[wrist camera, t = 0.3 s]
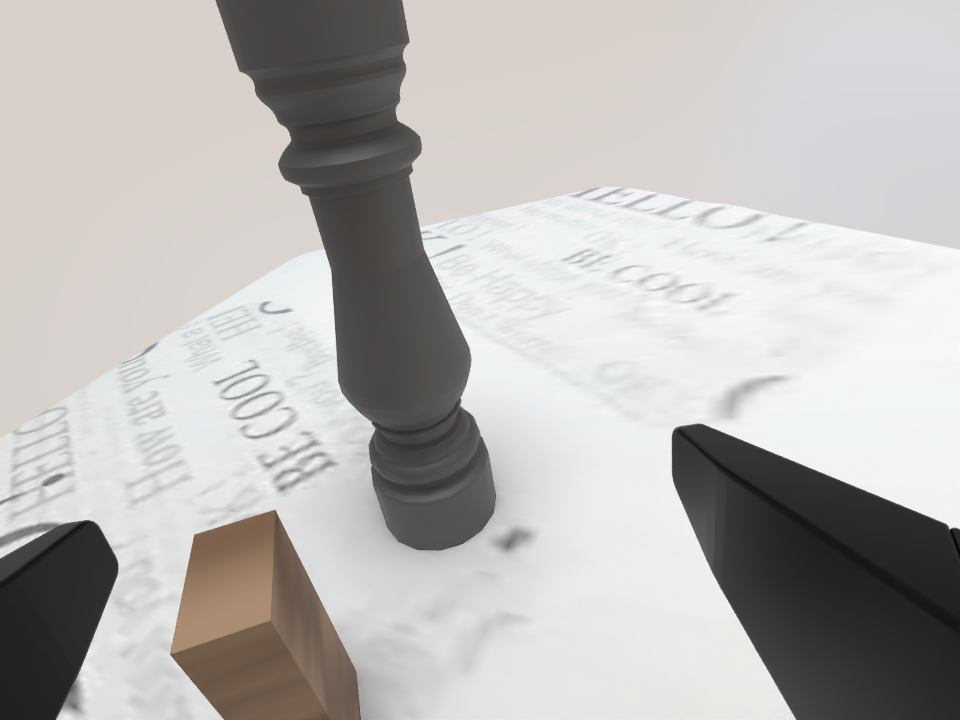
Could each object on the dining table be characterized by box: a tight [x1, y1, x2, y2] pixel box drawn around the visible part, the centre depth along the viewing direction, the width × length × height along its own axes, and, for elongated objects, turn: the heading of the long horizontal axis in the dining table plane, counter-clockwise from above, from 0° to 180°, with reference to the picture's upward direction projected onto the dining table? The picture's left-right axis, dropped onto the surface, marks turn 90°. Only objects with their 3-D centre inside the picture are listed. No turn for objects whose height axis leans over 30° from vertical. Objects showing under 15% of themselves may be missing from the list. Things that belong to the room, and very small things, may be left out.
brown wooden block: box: [170, 510, 361, 720], centre depth 19 cm, size 5×2×10 cm, turn 17°
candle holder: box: [216, 0, 496, 550], centre depth 23 cm, size 6×6×25 cm
